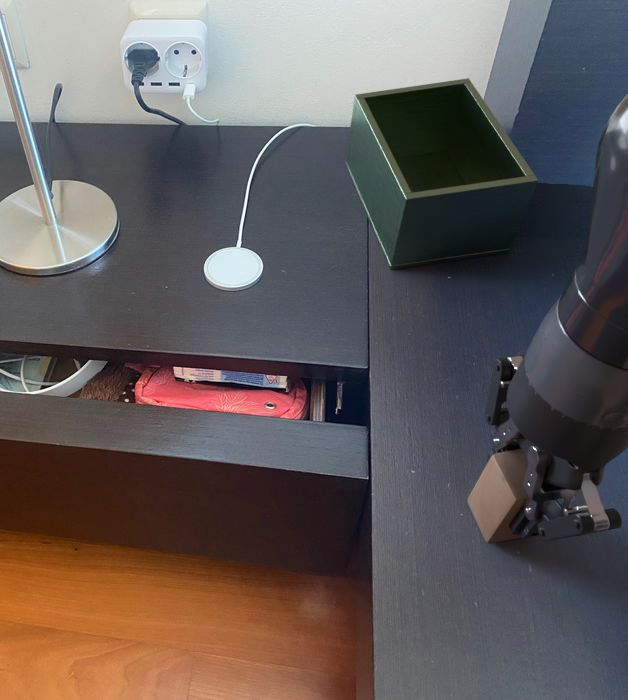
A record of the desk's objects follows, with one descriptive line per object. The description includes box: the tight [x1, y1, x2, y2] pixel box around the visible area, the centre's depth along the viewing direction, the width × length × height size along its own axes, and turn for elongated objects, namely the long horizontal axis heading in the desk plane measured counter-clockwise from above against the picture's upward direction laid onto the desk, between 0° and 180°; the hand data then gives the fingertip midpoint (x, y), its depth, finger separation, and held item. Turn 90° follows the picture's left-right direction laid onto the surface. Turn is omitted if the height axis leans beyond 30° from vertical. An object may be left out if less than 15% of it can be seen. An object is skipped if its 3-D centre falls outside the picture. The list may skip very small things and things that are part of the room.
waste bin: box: [344, 78, 539, 271], centre depth 77 cm, size 18×13×10 cm
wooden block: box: [467, 449, 550, 544], centre depth 55 cm, size 4×4×8 cm
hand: (510, 499), depth 56 cm, fingers closed on wooden block, 4 cm apart
